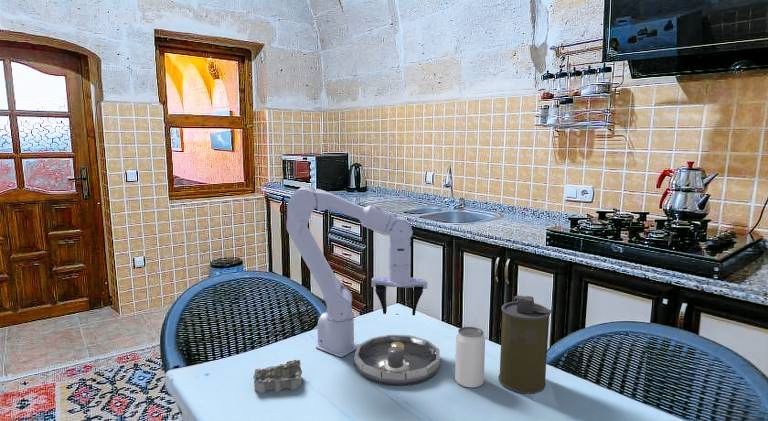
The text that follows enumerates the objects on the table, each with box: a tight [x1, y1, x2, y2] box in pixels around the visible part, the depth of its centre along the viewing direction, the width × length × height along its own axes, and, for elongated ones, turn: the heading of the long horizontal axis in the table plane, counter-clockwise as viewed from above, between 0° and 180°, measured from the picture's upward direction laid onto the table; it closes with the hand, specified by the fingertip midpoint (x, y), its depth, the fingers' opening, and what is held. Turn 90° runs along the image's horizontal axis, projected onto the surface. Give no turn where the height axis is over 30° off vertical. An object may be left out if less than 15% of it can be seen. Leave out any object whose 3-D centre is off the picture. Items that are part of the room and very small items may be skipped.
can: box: [454, 326, 486, 389], centre depth 104 cm, size 6×6×12 cm
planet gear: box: [382, 347, 409, 372], centre depth 108 cm, size 6×6×4 cm
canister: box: [498, 295, 553, 395], centre depth 104 cm, size 11×10×20 cm
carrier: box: [353, 334, 441, 387], centre depth 113 cm, size 21×21×5 cm
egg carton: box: [253, 359, 303, 394], centre depth 104 cm, size 11×8×4 cm
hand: (399, 313), depth 121 cm, fingers open, 7 cm apart
